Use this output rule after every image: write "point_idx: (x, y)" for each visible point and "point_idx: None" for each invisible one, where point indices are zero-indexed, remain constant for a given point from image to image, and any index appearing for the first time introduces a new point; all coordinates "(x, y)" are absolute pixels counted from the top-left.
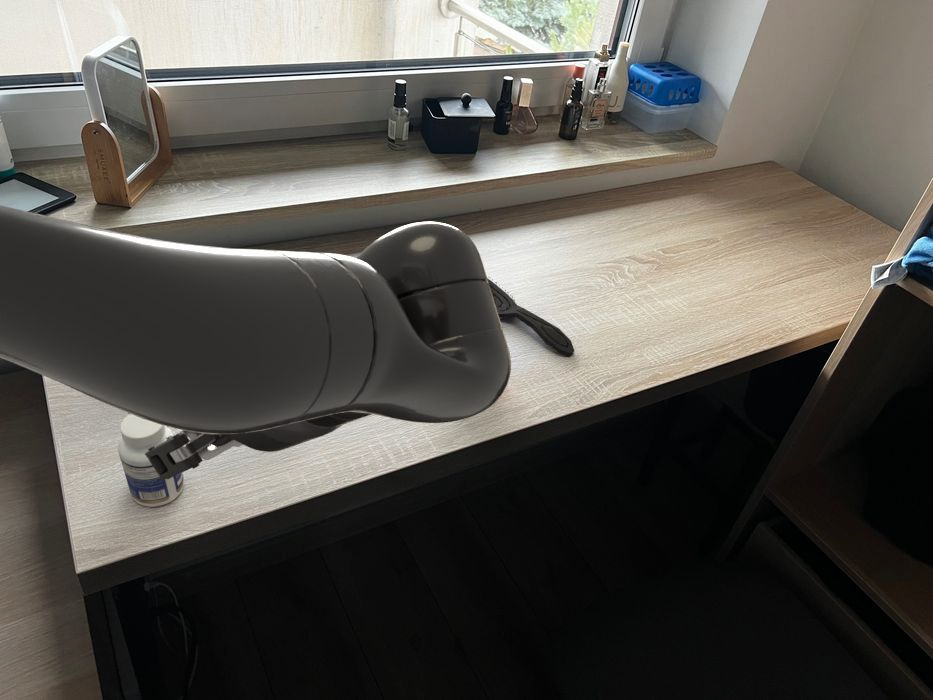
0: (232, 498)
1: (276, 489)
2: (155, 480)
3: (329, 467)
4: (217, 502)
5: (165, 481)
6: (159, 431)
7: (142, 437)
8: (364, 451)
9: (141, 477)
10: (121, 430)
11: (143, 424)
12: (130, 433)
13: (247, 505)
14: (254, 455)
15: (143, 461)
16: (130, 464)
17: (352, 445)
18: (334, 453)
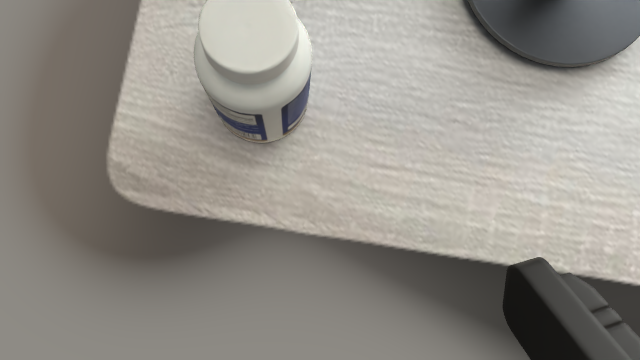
0: (363, 191)
1: (438, 215)
2: (245, 125)
3: (545, 220)
4: (337, 185)
5: (264, 129)
6: (275, 68)
7: (232, 70)
8: (620, 220)
9: (222, 112)
10: (199, 21)
11: (250, 29)
12: (213, 42)
13: (379, 221)
14: (437, 117)
15: (227, 102)
16: (204, 88)
17: (607, 194)
18: (568, 193)
